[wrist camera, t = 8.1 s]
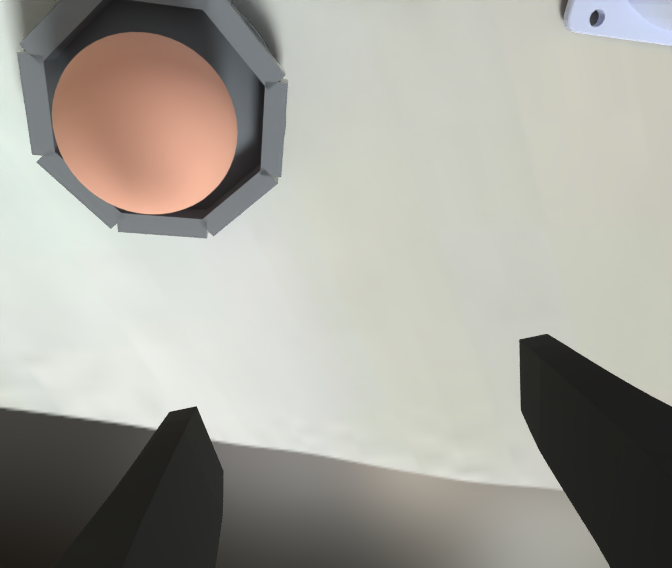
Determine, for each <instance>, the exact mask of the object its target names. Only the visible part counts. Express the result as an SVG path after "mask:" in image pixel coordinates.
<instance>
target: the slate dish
mask: <svg viewBox="0 0 672 568" xmlns="http://www.w3.org/2000/svg"><path fill="white" fill-rule="evenodd" d="M126 32H146V33H152V34H158V35H161V36H165V37H168V38H171V39H173V40H176V41H178V42H180V43H182V44H184V45H185V46H187V47H189V48H190V49H192V50H194V51H195V52H196V53H197V54H199V55H200V56H201V57H202V58H204V59H205V60H206V61H207V62H208V63H209V64H210V65H211V66H212V67H213V69H214V70H215V71H216V73H217V74H218V75H219V76H220V78H221V80H222V81H223V83H224V84H225V86H226V88H227V90H228V92H229V95H230V97H231V99H232V103H233V106H234V109H235V114H236V119H237V131H238V135H237V146H236V150H235V155H234V158H233V160H232V163H231V166H230V168H229V170H228V172H227V174H226V176H225V177H224V179H223V180H222V181H221V183H220V184H219V185H218V186H217V187H216V188H215V189H214V190H213V191H212V192H211V193H210V194H209V195H208V196H207V197H205V198H204V199H203V200H201V201H200V202H198V203H196V204H195V205H193V206H190V207H188V208H186V209H183V210H179V211H176V212H172V213H165V214H141V213H135V212H131V211H127V210H124V209H121V208H118V207H116V206H114V205H111V204H109V203H107V202H105V201H104V200H102V199H100V198H99V197H97V196H96V195H94V194H93V193H92V192H91V191H89V190H88V189H87V188H86V187H85V186H84V185H83V184H82V183H81V182H80V181H79V180H78V179H77V178H76V177H75V176H74V174H73V173H72V172H71V170H70V169H69V167H68V166H67V164H66V163H65V161H64V159H63V157H62V155H61V153H60V151H59V148H58V145H57V142H56V139H55V134H54V130H53V123H52V104H53V98H54V94H55V90H56V87H57V85H58V82H59V79H60V77H61V75H62V73H63V72H64V70H65V68H66V67H67V65H68V64H69V63H70V62H71V60H72V59H73V58H74V57H75V56H76V55H77V54H78V53H79V52H81V51H82V50H83V49H84V48H86V47H87V46H89V45H91V44H92V43H94V42H95V41H97V40H100V39H102V38H104V37H107V36H110V35H114V34H118V33H126ZM20 45H21V46H22V47H23V48H24V49H25V50H26V51H23V52H17V55H18V62H19V69H20V76H21V83H22V89H23V96H24V103H25V110H26V116H27V123H28V130H29V137H30V144H31V150H32V155H42V157H41V158H40V159H39V160H38V161H37V163H38V164H39V165H40V166H41V167H42V168H44V169H45V170H46V171H47V172H48V173H49V174H50V175H51V176H52V177H54V178H55V179H56V180H57V181H58V182H59V183H60V184H61V185H63V186H64V187H65V188H66V189H67V190H68V191H69V192H70V193H71V194H73V195H74V196H75V197H76V198H77V199H78V200H79V201H80V202H82V203H83V204H84V205H85V206H86V207H87V208H88V209H89V210H90V211H92V212H93V213H94V214H95V215H96V216H97V217H98V218H99V219H101V220H102V221H103V222H104V223H105V224H106V225H107V226H108V227H109V228H112V227H113V226H114V225H116V224H118V232H127V233H141V234H155V235H168V236H182V237H196V238H207V236H208V233H209V232H210V233H211V234H212V235H213V236H214V235H216V234H217V233H218V232H219V231H221V230H222V229H223V228H224V227H225V226H227V225H228V224H229V223H230V222H231V221H233V220H234V219H235V218H236V217H238V216H239V215H240V214H241V213H242V212H244V211H245V210H246V209H247V208H249V207H250V206H251V205H252V204H253V203H255V202H256V201H257V200H258V199H260V198H261V197H262V196H263V195H264V194H266V193H267V192H268V191H269V190H270V189H272V188H273V187H274V186H275V185H277V184H278V177H281V171H282V157H283V143H284V135H285V127H286V102H287V88H288V80H287V79H282V78H283V77H284V76H285V71H284V70H283V68H282V67H281V66H280V64H279V63H278V62H277V61H276V59H275V58H274V57H273V55H272V54H271V52H270V50H269V49H268V47H267V45H266V43H265V42H264V40H263V39H262V37H261V36H260V34H259V33H258V31H257V30H256V29H255V28H254V27H253V25H252V24H251V23H250V22H249V21H248V20H247V19H246V17H245V16H244V15H242V14H241V13H240V12H239V11H238V10H237V9H236V8H235V7H234V6H233V4H232V3H231V2H230V1H229V0H61V1H60V2H59V3H58V4H57V5H56V6H55V7H54V8H53V9H52V10H51V11H50V12H49V13H48V14H47V16H46V17H45V18H44V19H43V20H42V21H41V22H40V23H39V24H38V25H37V26H36V27H35V28H34V29H33V30H32V31H31V32H30V34H29V35H28V36H27V37H26V38H25V39H24V40H23V41H22V42H21V43H20Z"/></svg>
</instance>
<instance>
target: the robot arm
mask: <svg viewBox="0 0 672 568" xmlns="http://www.w3.org/2000/svg"><path fill="white" fill-rule="evenodd" d="M595 10H597V12H598V14H599V17H598V20H597V22H596V24H594V25H593V26H591V24H590V22H589V20H590V16H591V14H592V12H594V11H595ZM564 24H565V27H566V28H567V29H568V30H569V31H571V32H575V33H582V34H589V35H596V36H604V37H611V38H618V39H625V40H633V41H640V42H647V43H654V44H662V45H669V46H672V0H568V3H567V6H566V10H565V13H564ZM519 342H520V393H521V411H522V414H523V416H524V418H525V420H526V423H527V425H528V427H529V429H530V432H531V434H532V436H533V438H534V440H535V442H536V444H537V446H538V449H539V451H540V452H541V454H542V456H543V457H544V459H545V461H546V462H547V464H548V466H549V467H550V469H551V471H552V472H553V474H554V475H555V477H556V479H557V480H558V482H559V484H560V485H561V487H562V488H563V490H564V492H565V493H566V495H567V496H568V498H569V500H570V501H571V503H572V505H573V506H574V507H575V509H576V511H577V513H578V514H579V516H580V517H581V519H582V521H583V522H584V524H585V525H586V527H587V529H588V530H589V531H590V533H591V535H592V536H593V538H594V540H595V541H596V543H597V545H598V546H599V548H600V550H601V552H602V554H603V555H604V557H605V559H606V560H607V562H608V564H609V566H610V568H672V407H671V406H669V405H668V404H666V403H664V402H662V401H660V400H658V399H656V398H654V397H652V396H650V395H649V394H647V393H645V392H643V391H641V390H639V389H638V388H636V387H634V386H632V385H631V384H629V383H627V382H625V381H624V380H622V379H620V378H619V377H617V376H615V375H613V374H612V373H610V372H608V371H607V370H605V369H603V368H602V367H600V366H598V365H597V364H595V363H594V362H592V361H590V360H589V359H587V358H585V357H584V356H582V355H581V354H579V353H577V352H576V351H574V350H573V349H571V348H569V347H568V346H566V345H565V344H563V343H561V342H560V341H558V340H556V339H555V338H553V337H551V336H550V335H548V334H544V335H539V336H535V337H530V338H525V339H520V340H519ZM222 513H223V469H222V467H221V464H220V462H219V459H218V457H217V454H216V452H215V450H214V447H213V445H212V442H211V440H210V438H209V435H208V433H207V430H206V428H205V426H204V423H203V421H202V418H201V416H200V413H199V411H198V409H197V406H196V407H191V408H187V409H182V410H177V411H172V412H169V413H168V415H167V416H166V418H165V419H164V420H163V422H162V423H161V425H160V426H159V427H158V429H157V430H156V432H155V433H154V435H153V436H152V437H151V439H150V440H149V442H148V443H147V445H146V446H145V447H144V449H143V450H142V452H141V453H140V455H139V456H138V457H137V459H136V460H135V462H134V463H133V465H132V466H131V467H130V469H129V470H128V471H127V473H126V475H125V476H124V477H123V478H122V480H121V481H120V482H119V484H118V485H117V487H116V488H115V489H114V491H113V492H112V493H111V495H110V496H109V497H108V498H107V500H106V501H105V502H104V504H103V505H102V506H101V507H100V509H99V510H98V511H97V512H96V514H95V515H94V516H93V517H92V519H91V520H90V521H89V522H88V524H87V525H86V526H85V527H84V529H83V530H82V531H81V533H80V534H79V535H78V536H77V537H76V539H75V540H74V541H73V542H72V543H71V544H70V546H69V547H68V548H67V549H66V550H65V551H64V552H63V554H62V555H61V556H60V557H59V558H58V559H57V560H56V561H55V562H54V564H53V565H52V566H51V567H50V568H215V564H216V557H217V551H218V544H219V537H220V530H221V522H222V515H223V514H222Z"/></svg>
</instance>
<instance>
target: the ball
mask: <svg viewBox="0 0 672 568" xmlns="http://www.w3.org/2000/svg"><path fill="white" fill-rule="evenodd" d="M52 123H53V130H54V134H55V139H56V142H57V145H58V148H59V151H60V153H61V155H62V157H63V159H64V161H65V163H66V164H67V166H68V167H69V169H70V170H71V172H72V173H73V174H74V176H75V177H76V178H77V179H78V180H79V181H80V182H81V183H82V184H83V185H84V186H85V187H86V188H87V189H88V190H89V191H91V192H92V193H93V194H94V195H96V196H97V197H99V198H100V199H102V200H104V201H105V202H107V203H109V204H111V205H114V206H116V207H118V208H121V209H124V210H127V211H131V212H135V213H141V214H165V213H172V212H176V211H179V210H183V209H186V208H188V207H190V206H193V205H195V204H196V203H198V202H200V201H201V200H203V199H204V198H205V197H207V196H208V195H209V194H210V193H211V192H212V191H213V190H214V189H215V188H216V187H217V186H218V185H219V184H220V183H221V181H222V180H223V179H224V177H225V176H226V174H227V172H228V170H229V168H230V166H231V163H232V160H233V158H234V155H235V150H236V146H237V135H238V131H237V119H236V114H235V109H234V106H233V103H232V99H231V97H230V95H229V92H228V90H227V88H226V86H225V84H224V83H223V81H222V80H221V78H220V76H219V75H218V74H217V73H216V71H215V70H214V69H213V67H212V66H211V65H210V64H209V63H208V62H207V61H206V60H205V59H204V58H202V57H201V56H200V55H199V54H197V53H196V52H195V51H194V50H192V49H190V48H189V47H187V46H185V45H184V44H182V43H180V42H178V41H176V40H173V39H171V38H168V37H165V36H161V35H158V34H152V33H146V32H126V33H118V34H114V35H110V36H107V37H104V38H102V39H100V40H97V41H95V42H94V43H92V44H91V45H89V46H87V47H86V48H84V49H83V50H82V51H81V52H79V53H78V54H77V55H76V56H75V57H74V58H73V59H72V60H71V62H70V63H69V64H68V65H67V67H66V68H65V70H64V72H63V73H62V75H61V77H60V79H59V82H58V85H57V87H56V90H55V94H54V98H53V104H52Z"/></svg>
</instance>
